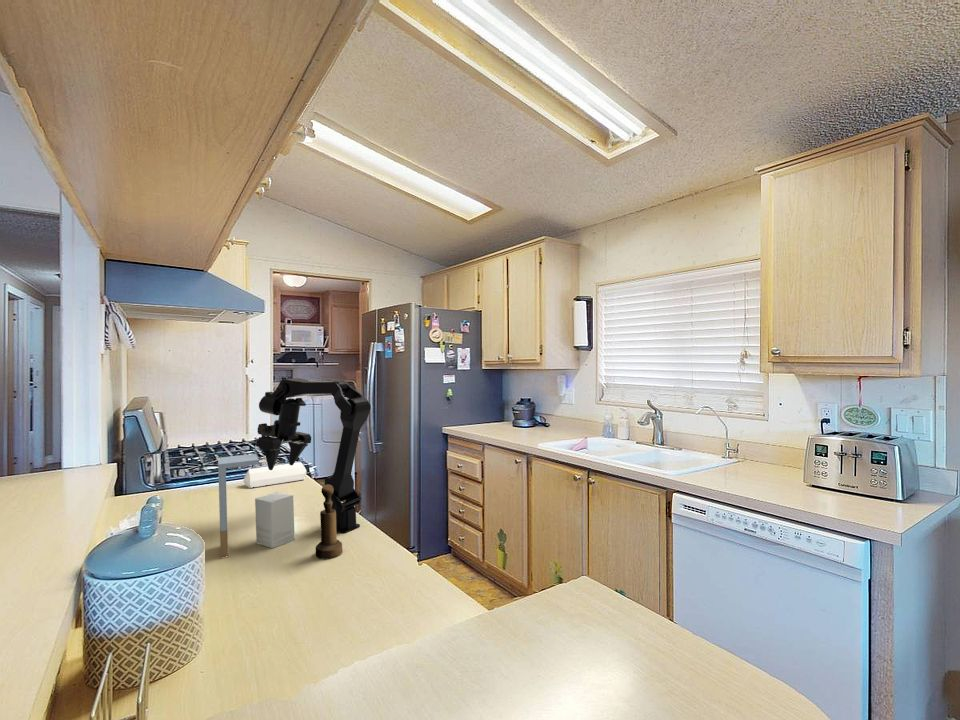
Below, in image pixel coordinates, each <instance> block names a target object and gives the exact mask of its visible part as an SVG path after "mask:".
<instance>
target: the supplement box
mask: <svg viewBox="0 0 960 720" xmlns="http://www.w3.org/2000/svg"><path fill="white" fill-rule="evenodd" d="M254 503H255V504H254V505H255V506H254V507H255V511H254V512H255V534H256V535H255V538H256V542H255V543H256V544H258V545H261V546H264V547H267V548H270V549H274V548H276V547H279V546H282V545H285V544H287V543H289V542H292V541H294V540H295V536H296V535H295V511H294V510H295V509H294V495H293V494H289V493H284V492H279V491H276V492H273V493H268V494H266V495H263V496H260V497H257V498H255V500H254Z"/></svg>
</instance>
